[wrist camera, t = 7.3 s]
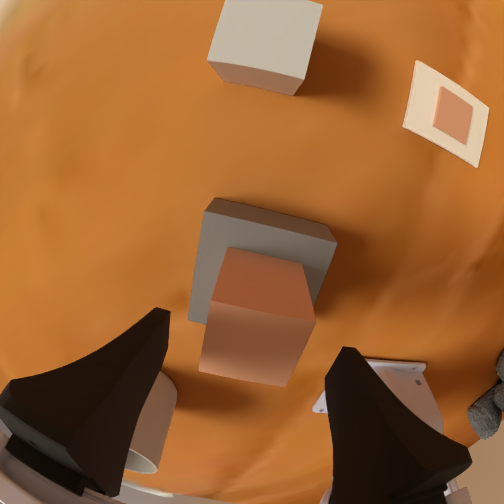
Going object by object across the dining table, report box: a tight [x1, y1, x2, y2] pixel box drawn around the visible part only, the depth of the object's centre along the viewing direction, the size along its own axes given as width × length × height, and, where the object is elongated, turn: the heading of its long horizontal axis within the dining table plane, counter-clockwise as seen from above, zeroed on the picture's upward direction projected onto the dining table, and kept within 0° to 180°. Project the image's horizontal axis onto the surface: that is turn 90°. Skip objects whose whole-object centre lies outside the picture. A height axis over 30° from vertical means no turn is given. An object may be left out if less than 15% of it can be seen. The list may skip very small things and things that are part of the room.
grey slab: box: [188, 198, 338, 325], centre depth 17 cm, size 7×7×3 cm
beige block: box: [207, 0, 323, 96], centre depth 11 cm, size 4×4×5 cm
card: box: [402, 60, 489, 168], centre depth 13 cm, size 7×5×1 cm
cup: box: [124, 371, 177, 474], centre depth 20 cm, size 7×10×9 cm
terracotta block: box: [199, 247, 316, 387], centre depth 13 cm, size 4×4×5 cm
